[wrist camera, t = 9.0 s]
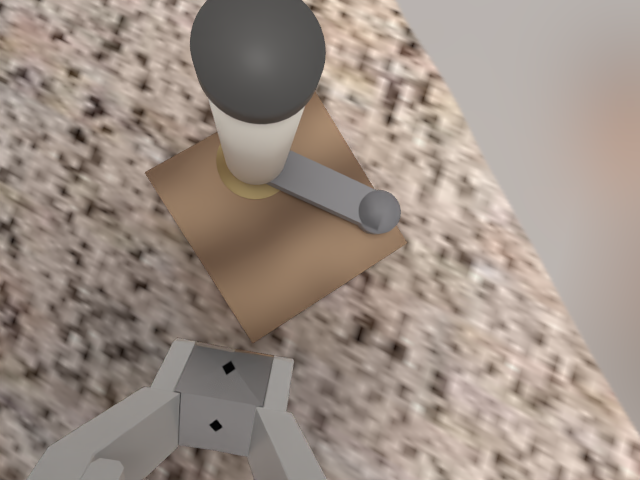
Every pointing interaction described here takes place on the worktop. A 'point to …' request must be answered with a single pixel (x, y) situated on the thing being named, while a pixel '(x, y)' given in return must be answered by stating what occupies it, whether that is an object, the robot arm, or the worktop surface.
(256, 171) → the hinged leg
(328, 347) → the worktop surface
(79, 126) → the worktop surface
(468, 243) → the worktop surface
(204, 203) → the wooden base
